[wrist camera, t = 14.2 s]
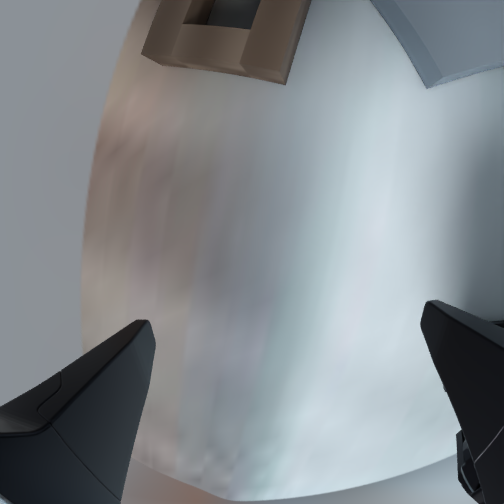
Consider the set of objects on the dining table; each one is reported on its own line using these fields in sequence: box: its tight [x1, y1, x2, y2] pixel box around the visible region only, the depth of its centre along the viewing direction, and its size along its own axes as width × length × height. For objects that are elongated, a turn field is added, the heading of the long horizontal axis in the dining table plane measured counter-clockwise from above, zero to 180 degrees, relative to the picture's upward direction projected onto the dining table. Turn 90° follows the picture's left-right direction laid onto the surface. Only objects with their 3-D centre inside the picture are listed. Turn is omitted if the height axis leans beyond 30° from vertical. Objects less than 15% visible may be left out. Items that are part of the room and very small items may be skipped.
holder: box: [141, 0, 311, 85], centre depth 15 cm, size 9×9×3 cm
